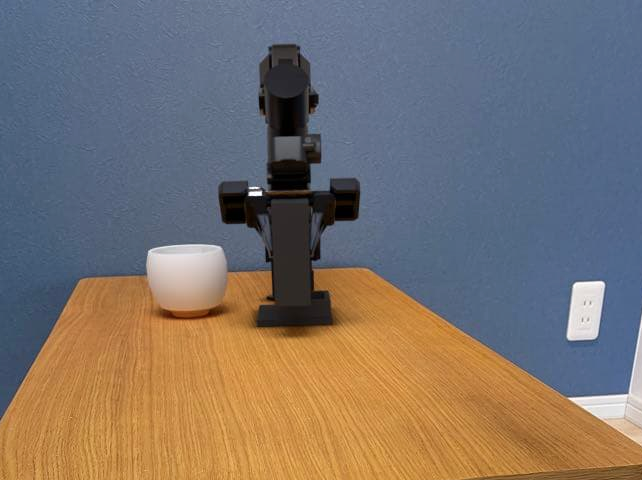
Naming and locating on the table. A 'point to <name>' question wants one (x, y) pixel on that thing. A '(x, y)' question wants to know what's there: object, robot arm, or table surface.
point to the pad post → (291, 252)
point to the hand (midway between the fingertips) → (291, 254)
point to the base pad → (298, 312)
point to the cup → (187, 278)
